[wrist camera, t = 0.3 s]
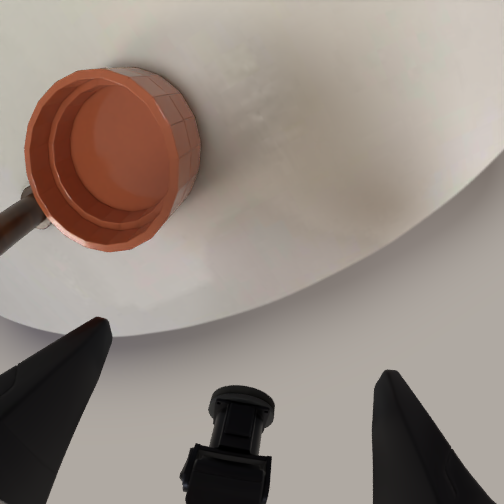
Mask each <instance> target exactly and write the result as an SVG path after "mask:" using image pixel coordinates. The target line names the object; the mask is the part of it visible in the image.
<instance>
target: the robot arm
mask: <svg viewBox="0 0 504 504" xmlns="http://www.w3.org/2000/svg"><path fill="white" fill-rule="evenodd" d="M111 343H112V333H111V329H110V325H109V321H108V320H107V319H105V318H101V317H95V318H93V319H91V320H90V321H88V322H86V323H85V324H83V325H81V326H80V327H78V328H76V329H75V330H73V331H71V332H70V333H68V334H66V335H65V336H63V337H61V338H60V339H58V340H56V341H55V342H53V343H52V344H50V345H48V346H47V347H45V348H43V349H42V350H40V351H38V352H37V353H35V354H34V355H32V356H30V357H29V358H27V359H26V360H24V361H22V362H21V363H19V364H18V365H17V366H14V367H13V368H11V369H9V370H8V371H6V372H4V373H3V374H1V375H0V504H46V502H47V499H48V497H49V494H50V491H51V489H52V486H53V483H54V481H55V478H56V475H57V473H58V470H59V468H60V465H61V463H62V460H63V457H64V456H65V453H66V450H67V448H68V446H69V444H70V441H71V439H72V437H73V434H74V432H75V430H76V427H77V425H78V423H79V421H80V418H81V416H82V414H83V412H84V410H85V407H86V405H87V403H88V401H89V398H90V396H91V394H92V392H93V390H94V388H95V386H96V384H97V381H98V379H99V377H100V374H101V371H102V368H103V365H104V362H105V360H106V357H107V354H108V352H109V348H110V346H111ZM269 414H270V408H269V407H265V406H259V405H253V404H247V403H241V402H236V401H231V400H226V399H221V398H217V399H216V400H215V406H214V421H213V424H214V429H213V433H212V437H211V442H210V445H209V447H207V446H202V445H200V444H197V443H196V444H195V447H194V448H190V452H189V455H188V459H187V461H186V463H185V465H184V467H183V469H182V471H181V473H180V479H181V480H182V482H183V483H182V485H183V491H184V492H187V494H186V498H185V501H186V504H266V501H267V497H268V493H269V486H270V473H271V460H272V457H271V456H259V455H258V454H259V448H260V441H261V434H262V433H263V431H264V428H265V425H266V422H267V420H268V417H269ZM372 451H373V504H496V503H495V502H494V501H493V500H492V499H491V498H490V497H489V496H488V495H487V494H486V492H485V491H484V490H483V489H482V487H481V486H480V485H479V484H478V483H477V481H476V480H475V479H474V478H473V477H472V475H471V474H470V473H469V471H468V470H467V469H466V468H465V466H464V465H463V463H462V462H461V461H460V459H459V458H458V457H457V455H456V453H455V452H454V450H453V449H451V446H450V445H449V443H448V442H447V440H446V439H445V437H444V436H443V434H442V433H441V432H440V430H439V429H438V427H437V426H436V424H435V423H434V421H433V420H432V418H431V417H430V416H429V414H428V413H427V411H426V410H425V409H424V407H423V406H422V404H421V403H420V401H419V400H418V399H417V397H416V396H415V394H414V393H413V392H412V390H411V389H410V387H409V386H408V385H407V383H406V382H405V380H404V379H403V378H402V377H401V375H400V374H399V372H398V371H396V370H385V371H384V372H383V373H382V375H381V377H380V379H379V380H378V381H377V383H376V385H375V388H374V403H373V421H372Z"/></svg>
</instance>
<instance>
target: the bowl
mask: <svg viewBox="0 0 504 504" xmlns="http://www.w3.org/2000/svg"><path fill="white" fill-rule="evenodd" d="M200 143H201V140H200V136H199V132H198V128H197V123H196V119H195V116H194V114H193V113H192V111H191V109H190V108H189V106H188V104H187V103H186V101H185V99H184V98H183V96H182V94H181V93H180V92H179V91H178V90H177V89H176V88H175V87H173V86H172V85H171V84H170V83H169V82H167V81H166V80H165V79H164V78H162V77H161V76H159V75H157V74H154V73H151V72H149V71H146V70H143V69H140V68H136V67H129V68H101V69H89V70H79V71H76V72H74V73H72V74H70V75H68V76H66V77H64V78H62V79H61V80H59V81H57V82H56V83H54V84H53V86H52V87H51V88H50V89H49V90H48V91H47V92H46V93H45V94H44V95H43V97H42V98H41V99H40V100H39V101H38V103H37V105H36V107H35V110H34V112H33V114H32V116H31V119H30V121H29V123H28V127H27V133H26V140H25V147H24V149H25V150H24V152H25V163H26V173H27V177H28V180H29V183H30V186H31V189H32V192H33V194H34V197H35V200H36V201H37V203H38V204H39V206H40V208H41V209H42V211H43V212H44V214H45V215H46V217H47V219H49V221H50V222H51V223H52V224H53V225H54V226H55V227H56V228H57V229H59V230H60V231H61V232H62V233H63V234H64V235H65V236H66V237H68V238H70V239H71V240H73V241H75V242H77V243H79V244H80V245H82V246H84V247H87V248H90V249H95V250H100V251H104V252H115V251H123V250H130V249H133V248H135V247H136V246H138V245H140V244H142V243H144V242H146V241H147V240H149V239H151V238H152V237H153V236H154V235H155V234H156V232H157V231H158V230H159V229H160V228H161V226H162V225H163V224H164V223H165V222H166V221H167V219H168V218H169V217H170V216H171V215H172V213H173V212H174V211H175V210H176V209H177V208H178V206H179V205H180V204H181V203H182V202H183V201H184V200H185V198H186V197H187V196H188V195H189V193H190V191H191V189H192V186H193V184H194V181H195V179H196V177H197V174H198V172H199V164H200V150H201V144H200Z"/></svg>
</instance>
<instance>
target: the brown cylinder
mask: <svg viewBox="0 0 504 504" xmlns="http://www.w3.org/2000/svg"><path fill="white" fill-rule="evenodd" d="M51 224H52V223H51V222H50V221H49V219H47V217H46V215H45V214H44V212H43V211H42V209H41V208H40V206H39V204H38V203H37V201H36V200H35V197H34V194H33V192H32V189H31V186H28V187H27V188H25V189H24V191H23V192H22V195H21V200H19V201H18V202H16V203H15V204H13V205H12V206H10V207H9V208H7V209H6V210H4V211H3V212H1V213H0V256H1V255H2V254H3V253H4V252H6V251H7V250H8V249H9V248H10V247H12V246H13V245H14V244H15V243H16V242H18V241H19V240H20V239H21V238H23V237H24V236H25V235H27V234H28V233H29V232H30V231H32V230H33V229H34V228H37V229H46V228H47V227H49V226H50V225H51Z"/></svg>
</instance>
